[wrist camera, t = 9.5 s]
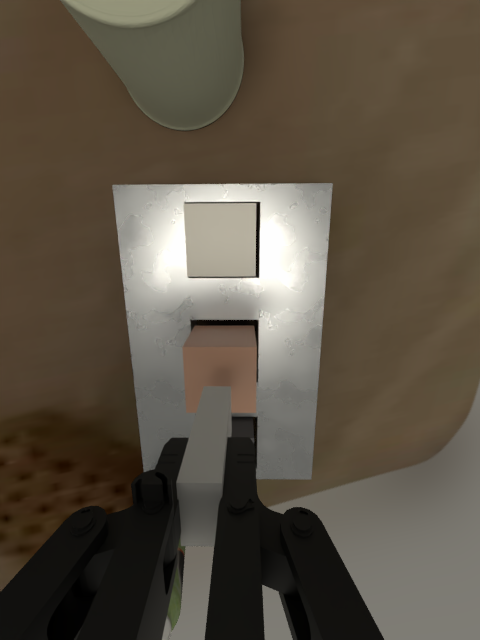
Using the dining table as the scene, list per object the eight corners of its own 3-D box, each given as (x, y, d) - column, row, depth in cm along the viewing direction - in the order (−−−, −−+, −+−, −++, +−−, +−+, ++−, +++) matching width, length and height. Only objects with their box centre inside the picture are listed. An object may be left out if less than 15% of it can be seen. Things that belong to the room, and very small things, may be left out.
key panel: (153, 456, 31) (144, 478, 28) (128, 191, 24) (112, 185, 21) (304, 456, 31) (311, 479, 28) (321, 190, 24) (332, 183, 21)
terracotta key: (197, 379, 25) (186, 412, 20) (194, 325, 24) (182, 347, 19) (253, 379, 25) (256, 412, 20) (253, 325, 23) (256, 347, 19)
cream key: (198, 270, 25) (187, 276, 20) (195, 211, 24) (183, 203, 19) (253, 269, 25) (255, 276, 20) (253, 211, 24) (256, 203, 19)
